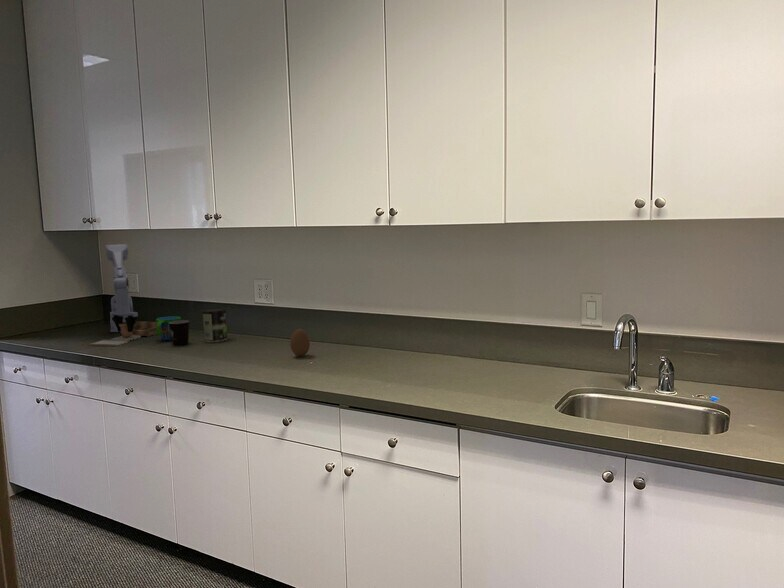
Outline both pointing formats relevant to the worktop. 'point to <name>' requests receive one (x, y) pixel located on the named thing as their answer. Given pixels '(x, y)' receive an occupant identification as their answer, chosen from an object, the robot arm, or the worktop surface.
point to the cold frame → (144, 328)
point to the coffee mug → (179, 332)
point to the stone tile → (126, 337)
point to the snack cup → (165, 326)
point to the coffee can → (214, 325)
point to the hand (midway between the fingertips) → (125, 331)
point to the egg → (300, 342)
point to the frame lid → (109, 343)
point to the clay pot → (125, 330)
